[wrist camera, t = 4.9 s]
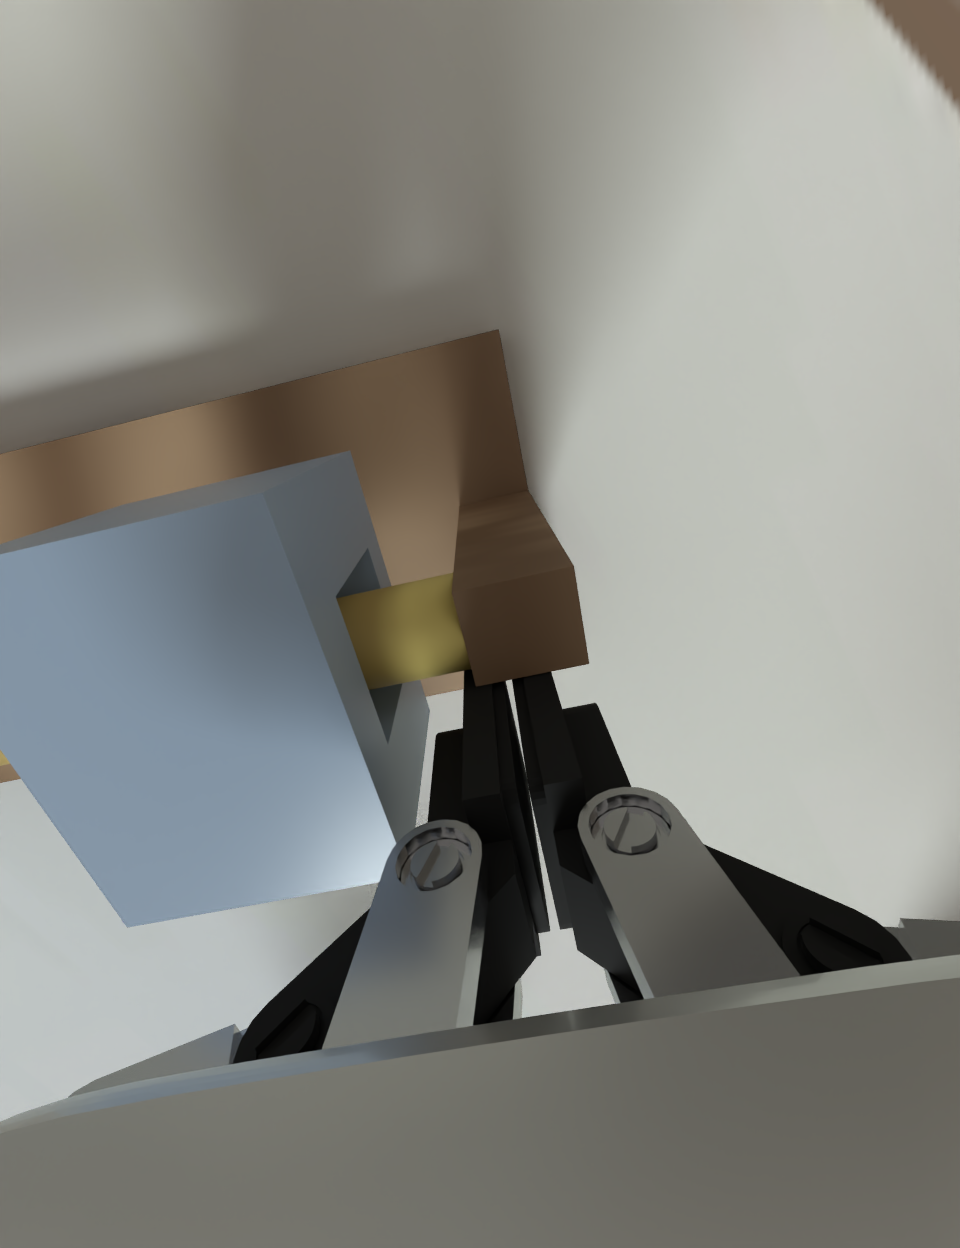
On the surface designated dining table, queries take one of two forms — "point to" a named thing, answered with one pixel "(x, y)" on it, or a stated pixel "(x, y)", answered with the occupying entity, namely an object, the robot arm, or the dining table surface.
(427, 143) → the dining table surface
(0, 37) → the dining table surface
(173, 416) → the rod stand
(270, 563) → the sleeve
